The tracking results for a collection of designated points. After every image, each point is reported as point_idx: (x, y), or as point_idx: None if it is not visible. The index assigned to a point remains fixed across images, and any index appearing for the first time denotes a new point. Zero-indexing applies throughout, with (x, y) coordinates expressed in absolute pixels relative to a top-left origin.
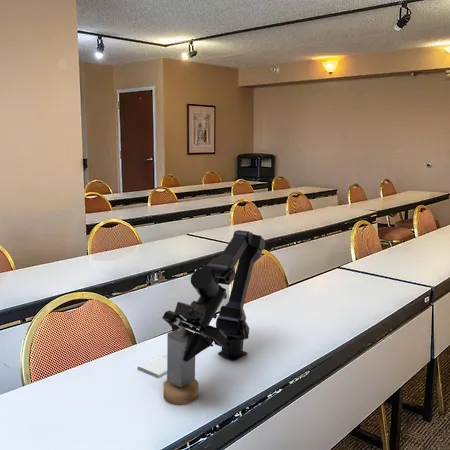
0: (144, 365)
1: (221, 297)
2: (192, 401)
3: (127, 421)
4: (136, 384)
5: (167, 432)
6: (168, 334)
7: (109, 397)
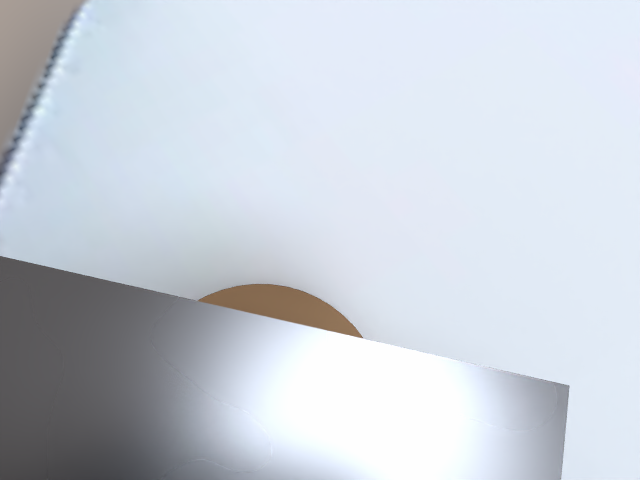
0: None
1: None
2: None
3: (363, 55)
4: (573, 365)
5: (138, 70)
6: (506, 375)
7: (589, 176)
